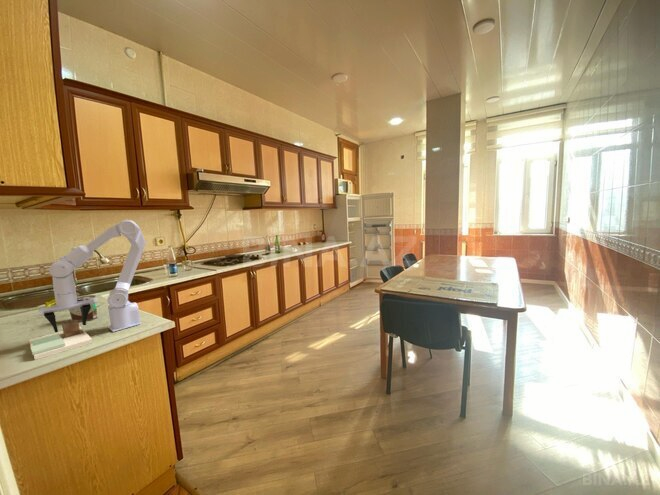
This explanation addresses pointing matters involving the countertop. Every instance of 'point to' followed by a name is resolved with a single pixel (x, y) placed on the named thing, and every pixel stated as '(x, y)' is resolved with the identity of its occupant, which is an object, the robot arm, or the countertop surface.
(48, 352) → the puzzle board
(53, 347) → the lid
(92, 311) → the food container
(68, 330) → the walnut block
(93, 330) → the countertop surface
